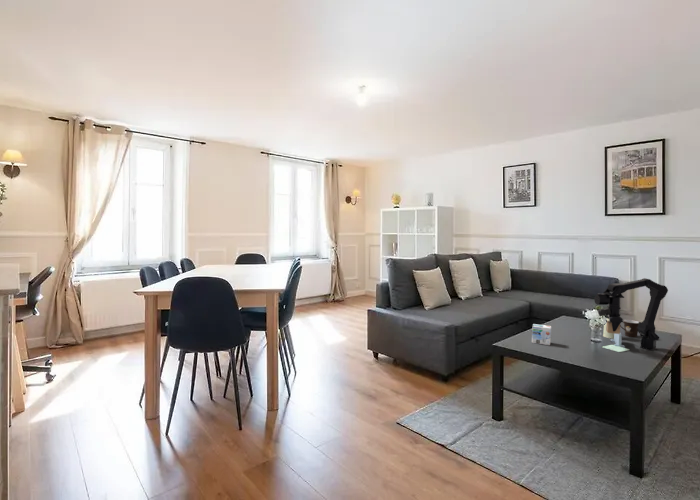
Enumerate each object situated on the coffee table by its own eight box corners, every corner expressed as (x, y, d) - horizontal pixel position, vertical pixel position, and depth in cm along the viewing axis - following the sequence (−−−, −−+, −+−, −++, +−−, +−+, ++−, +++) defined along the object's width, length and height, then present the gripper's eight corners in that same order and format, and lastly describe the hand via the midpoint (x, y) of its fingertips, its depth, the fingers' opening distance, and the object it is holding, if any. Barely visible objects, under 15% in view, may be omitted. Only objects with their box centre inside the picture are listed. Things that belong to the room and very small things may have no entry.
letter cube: (606, 330, 237) (606, 320, 236) (618, 331, 234) (618, 321, 234) (607, 332, 231) (608, 322, 231) (619, 333, 229) (620, 323, 228)
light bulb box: (531, 342, 241) (532, 326, 241) (532, 340, 247) (532, 323, 247) (550, 345, 236) (551, 328, 236) (550, 342, 242) (551, 325, 242)
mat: (629, 350, 229) (629, 349, 228) (619, 352, 224) (619, 351, 224) (612, 345, 238) (612, 344, 238) (602, 347, 233) (602, 346, 233)
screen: (610, 340, 247) (611, 328, 247) (619, 341, 245) (620, 329, 245) (615, 346, 235) (615, 333, 234) (624, 347, 233) (625, 335, 232)
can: (619, 339, 249) (620, 321, 248) (602, 337, 254) (603, 319, 253) (619, 336, 256) (620, 319, 255) (603, 334, 262) (604, 316, 261)
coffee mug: (642, 338, 253) (643, 323, 252) (628, 337, 253) (629, 323, 252) (629, 333, 265) (630, 318, 264) (617, 332, 265) (617, 318, 264)
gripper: (596, 300, 243) (595, 324, 244) (600, 306, 227) (599, 332, 228) (617, 302, 238) (616, 327, 239) (623, 308, 222) (622, 334, 223)
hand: (613, 330), depth 233 cm, fingers closed on letter cube, 6 cm apart
